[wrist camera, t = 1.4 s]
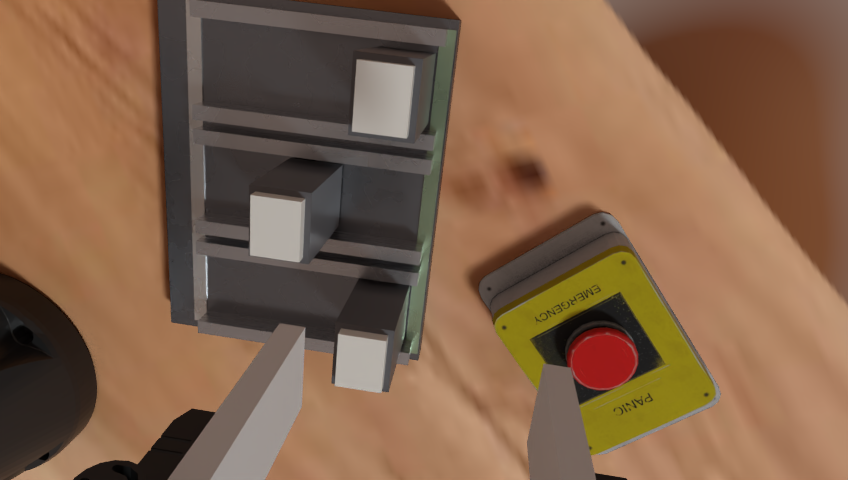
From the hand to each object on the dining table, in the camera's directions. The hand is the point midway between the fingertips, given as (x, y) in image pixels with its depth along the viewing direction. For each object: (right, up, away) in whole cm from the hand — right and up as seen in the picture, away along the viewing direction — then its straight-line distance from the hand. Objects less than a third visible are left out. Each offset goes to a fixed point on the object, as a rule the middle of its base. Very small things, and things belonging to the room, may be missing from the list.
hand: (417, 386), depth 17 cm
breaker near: (-1, +12, +14) cm, 19 cm away
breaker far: (-2, 0, +19) cm, 19 cm away
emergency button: (+11, -2, +20) cm, 23 cm away
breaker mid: (-6, +7, +17) cm, 19 cm away
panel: (-7, +8, +18) cm, 21 cm away
